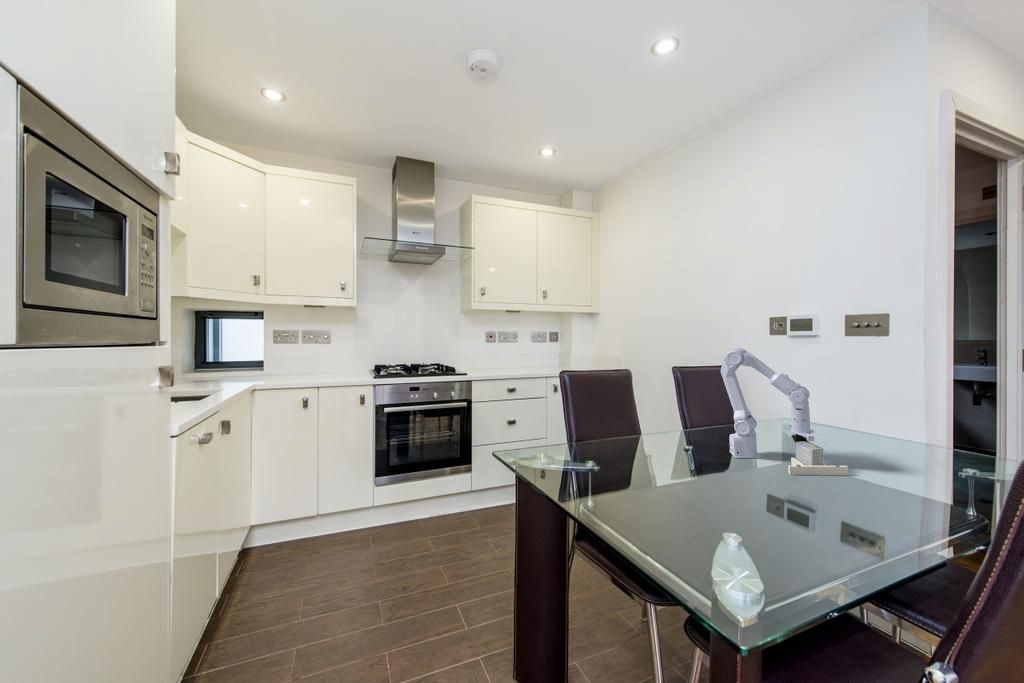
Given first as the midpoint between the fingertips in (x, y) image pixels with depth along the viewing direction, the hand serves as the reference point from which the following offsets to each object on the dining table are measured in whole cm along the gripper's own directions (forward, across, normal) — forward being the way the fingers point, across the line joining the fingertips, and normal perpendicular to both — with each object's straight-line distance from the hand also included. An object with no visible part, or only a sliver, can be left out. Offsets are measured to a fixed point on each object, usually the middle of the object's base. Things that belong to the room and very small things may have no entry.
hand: (801, 454), depth 150 cm
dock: (+4, -6, 0) cm, 7 cm away
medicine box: (+4, -5, 0) cm, 6 cm away
